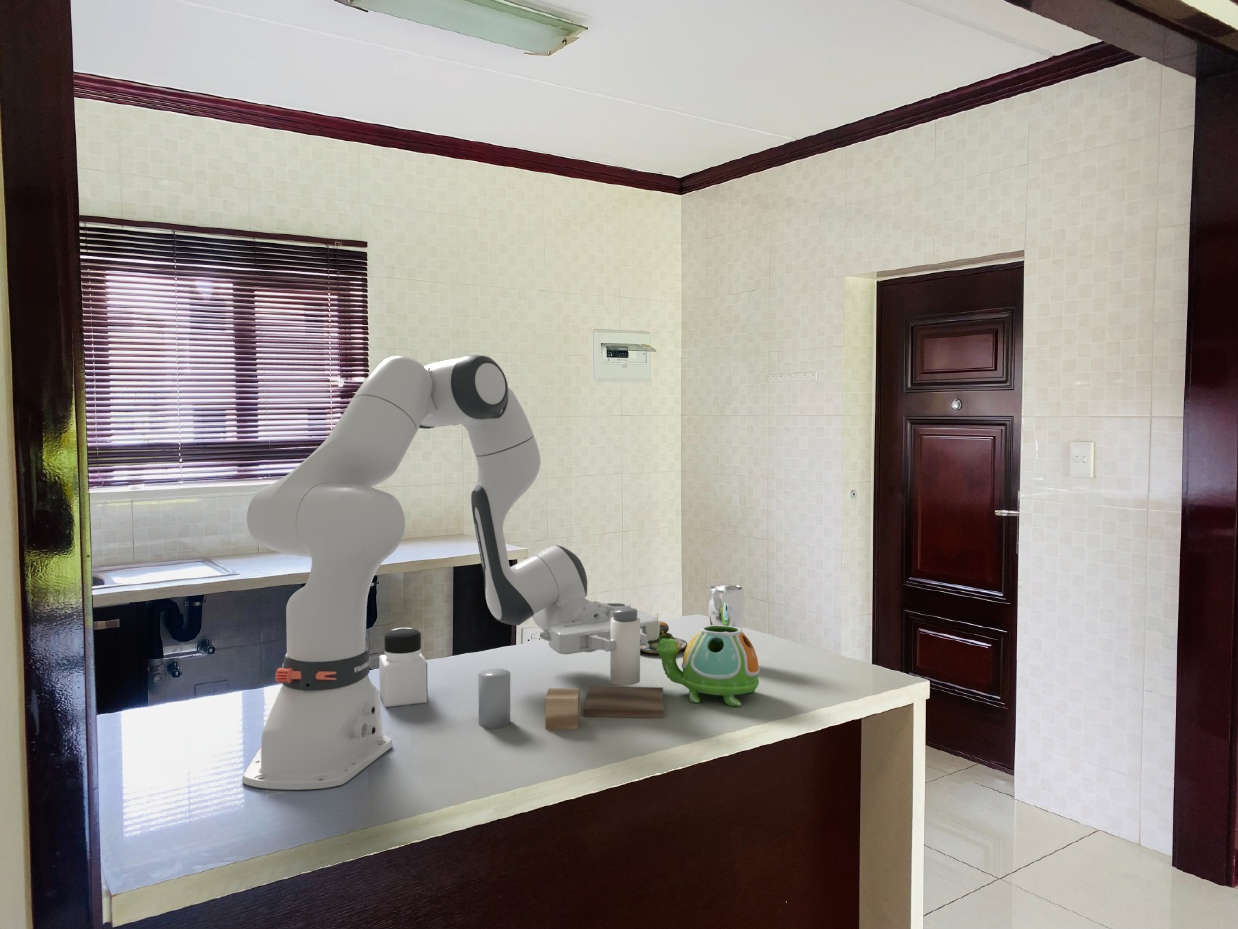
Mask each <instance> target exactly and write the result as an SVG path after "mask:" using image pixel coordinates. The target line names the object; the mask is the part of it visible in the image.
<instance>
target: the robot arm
mask: <svg viewBox="0 0 1238 929" xmlns="http://www.w3.org/2000/svg"><path fill="white" fill-rule="evenodd" d="M458 425H462V426H463V427H464V428H465V430H466V431H467V433H468V436H469V440H470V443H471V448H472V450H473V453H474V455H475V456H474V457H475V458H476V463H477V482H476V486H475V487H474V488H473V489H472V491H471V493H470V496H471V497H470V498H471V499H470V500H471V501H470V503H471V513H472V517H473V525H474V530H475V535H476V536H475V537H476V541H477V545H478V552H479V557H480V561H481V562H480V563H481V568H482V574H483V585H484V586H483V588H484V597H485V600H486V604H487V608H488V610H489V612H490V613H491V615H492V616H493V618H494V619H495V620H496V621H498V622H500V623H504V624H506V625H512V626H520V625H522V624H523V623H525V622H526V621H528V620H529V619H532V620H533V622H534V623H535V624H536V625H537V627H538V628H539V629H540V630H541V631H542V632H540V633H539V637H540V639H542V640H544V641H548V646H549V647H550V649H552V650H553V651H554V652H556V653H557V654H560V655H572V654H578V653H592V652H595V651H605V652H610V651H613V650H615V648H616V647H615V644H616V643H615V640H613V639H611V638H610V619H611V618H612V617H613V610H614V609H617V608H632V606H631V604H628V603H620V602H619V603H616V602H614V603H605V602H600V601H597V600H596V601H595V600H594V601H592V600H589V599H587V596H588V579H587V578H588V576H587V573H586V569H585V567H584V565H583V563H582V560H580V558H579V557H578V556H577V554H575V553H574V552H572V551H571V550H569V549H568V548H566V547H564V546H561V545H558V544H552V546H549V547H547V548H545V549H543V550H541V551H539V552H537V553H534V554H533V555H531V556H530V557H528V558H526V559H524V560H521V561H519V562H518V563H516V564H514V565H512V566H511V565H510V562H509V555H508V550H507V546H506V541H505V535H504V522H505V519H506V516H507V514H508V513H509V511H510V510H511V509H512V507H513V506H514V504H515V503H516V502H517V501H518V500H520V498H521V497H522V496H523V495H524V494H525V493H526V492H527V491H528V490H529V489H530V488H531V486H532V485H533V483H534V482H535V481H536V478H537V477H538V474H539V471H540V468H541V464H542V463H541V454H540V450H539V446H538V444H537V440H536V438H535V435H534V433H533V429H532V427H531V424H530V422H529V420H528V418H527V415H526V412H525V411H524V409H523V406H522V405H521V402H519V400H518V398H517V396H516V395H515V393H514V391H513V390H512V389H511V388H509V385H508V380H507V377H506V375H505V373H504V370H502V368H501V367H500V365H499V364H498V363H497V362H496V361H495V360H494V359H492V358H491V357H490V356H487V355H480V354H470V355H464V356H462V357H457V358H451V359H450V358H449V359H444V360H438V361H434V362H432V363H429V364H426V365H423V364H421V363H420V362H419V361H417V360H415V359H413V358H411V357H407V356H404V355H395V356H394V355H393V356H390V357H387V358H386V359H384V360H382V361H381V362H380V363H379V364H378V365H377V366H376V367H375V369H374V370H372V372H371V373H369V375H368V376H367V377H366V379H365V380H364V381H363V382H362V383H361V385H360V386H359V387H358V389H357V390H356V392H355V393H354V395H353V396H352V399H351V400H350V401H349V403H348V405H347V407H346V409H345V410H344V412H343V413H342V415H341V416H340V418H339V419H338V421H337V423H336V424H335V426H334V427H333V429H332V430H331V432H330V434H328V436H327V437H326V439H325V440H324V441H323V442H322V443H321V444H320V445H319V447H317V448H316V449H315V450H314V451H312V453H311V454H310V455H309V456H308V457H307V458H305V460H303V461H302V462H301V463H300V464H298V465H297V467H295V468H294V469H293V470H292V471H290V472H289V473H288V474H286V475H285V476H283V477H282V478H280V479H278V480H276V481H274V482H273V483H271V484H268V485H266V486H264V487H262V488H260V490H258V491H256V493H255V494H254V496H253V497H252V499H251V500H250V502H249V505H248V508H247V512H246V513H247V514H246V522H247V529H248V532H249V533H250V536H251V537H252V538H253V540H254V541H255V542H257V544H259V545H261V546H263V547H265V548H267V549H270V550H272V551H275V552H277V553H280V554H283V555H286V556H287V555H289V556H297V557H298V556H299V557H306V558H311V566H310V567H311V568H310V572H309V576H308V579H307V581H306V583H305V585H304V586H302V587H301V588H299V589H298V590H296V591H294V593H293V594H292V595H291V596H290V597H289V599H288V601H287V604H286V606H285V607H286V608H285V611H286V613H285V615H286V616H285V617H286V618H285V619H286V622H285V623H286V653H285V654H284V658H283V663H282V666H281V667H279V668H277V669H276V672H275V676H274V678H275V681H276V683H278V684H282V685H281V687H280V688H279V692H278V694H277V696H276V699H275V700H274V703H273V706H272V707H271V710H270V713H269V715H268V717H267V720H266V722H265V725H264V728H263V730H262V733H261V741H260V742H261V743H260V744H261V745H260V747H259V748H258V750H257V751H256V753H255V755H254V756H253V758H252V759H251V761H250V763H249V765H248V766H247V767H246V769H245V770H244V772H243V774H242V781H241V782H242V784H243V785H244V784H245V785H247V786H250V787H255V788H261V789H270V790H288V791H289V790H293V791H294V790H296V791H297V790H317V789H318V790H319V789H327V788H333V787H338V786H341V785H344V784H345V783H347V782H349V781H350V780H351V779H352V778H353V777H355V776H357V775H358V774H359V773H360V772H361V771H363V770H364V769H366V768H367V767H368V766H369V765H370V764H371V763H373V762H375V761H376V760H377V759H379V758H380V757H381V756H382V755H383V754H385V753H386V752H387V751H389V750H390V749H391V748H392V747H393V740H392V738H391V737H389V736H387V735H384V734H383V724H382V710H381V709H382V708H381V696H380V689H378V688H377V687H376V686H375V685H374V683H372V681H371V679H370V678H369V674H370V670H371V669H370V668H371V667H370V664H371V657H370V650H369V648H368V647H367V609H368V608H367V606H368V596H369V593H370V588H371V584H372V583H373V579H374V577H375V575H376V573H377V571H378V569H379V567H380V566H381V565H382V563H383V562H384V561H385V560H386V559H387V558H388V557H390V556H391V555H392V554H393V553H394V552H395V551H396V550H397V549H398V547H399V545H400V543H402V542H401V541H402V540H403V537H404V534H405V526H406V520H405V514H404V510H403V507H402V506H401V503H400V501H399V500H398V498H396V497H395V496H394V495H393V494H391V493H389V492H387V491H384V490H380V489H378V488H375V487H374V486H376V485H378V484H381V483H383V482H385V481H386V480H388V479H390V478H391V477H392V476H393V475H394V474H395V473H396V471H397V469H398V468H399V466H400V464H401V462H402V460H403V458H404V457H405V455H406V453H407V451H408V449H409V447H410V445H411V444H412V442H413V440H414V438H415V436H416V435H417V432H418V431H419V429H426V430H428V429H433V428H435V427H449V426H458ZM637 617H638V618H640V646H644V645H647V644H648V641H652V640H657V639H658V637H659V629H660V628H659V621H660V620H659V618H658V619H657V616H654V615H651V614H649V613H647V612H644V611H642V610H639V609H637Z"/></svg>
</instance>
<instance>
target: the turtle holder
mask: <svg viewBox="0 0 1238 929" xmlns="http://www.w3.org/2000/svg"><path fill="white" fill-rule="evenodd" d="M742 629H743V628H742ZM742 629H741V628H738V627H733V626H724V625H710V624H709V625H708V624H707V625H705V626H702V627H701V628H700V629H699V630H700V631H699V632H698V633H697V634H695V635H694V637H692V638H691V640H690V641H689V642H687V648H686V649H684V654H683V657H682V663H681V668H682V670H681V669H680V667H679V666H678V662H677V658H678V657H677V656H678V655H679V652H680V650H679V648H678V646H677V643H676V641H675V640H673V639H665V638H662V639H661V640H660V642H659V644H658V648H656V651H657V653H656V654H658V656H659V657H660V658H661V665H662V668H663V671H664V675H666V677H667V678H668V679H669V680H670V682H673V683H676V684H679V685H682V686H684V687H685V688H686V689H688V690H689V691H688V698H689V701H690V702H691V703H693V704H694V703H695V704H699V703H701V698H700V697H699V693H702V694H708V695H713V696H714V695H715V696H723V697H722V698H723V700H724V703H725V704H726V705H728V706H731V707H740V706H742V702H741V701H740V700H739V699H738V698H736V696H735V695H744V694H755V693H756V689H758V686H759V683H760V680H759V674H760V671H761V670H760V669H761V668H760V666H759V661H758V660H759V659H758V657H757V656H758V655H757V654H756V650H755V648H754V645H753V644H752V642H751V640H750V639H749V638H748V637H747V635H746V634H745V633H744V632H743V630H742ZM723 632H729V633H723Z"/></svg>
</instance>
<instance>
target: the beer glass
mask: <svg viewBox="0 0 1238 929" xmlns="http://www.w3.org/2000/svg"><path fill="white" fill-rule="evenodd" d="M744 593H745V592H744V587H743V586H741V585H736V584H729V583H726V584H725V583H724V584H721V583H720V584H713V585H710V587H709V594H708V596H709V597H708V621H709V625H724V626H733V627H738V628H741V629H743V624H744V619H745V595H744ZM723 633H729V632H723Z"/></svg>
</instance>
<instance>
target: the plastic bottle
mask: <svg viewBox="0 0 1238 929" xmlns="http://www.w3.org/2000/svg"><path fill="white" fill-rule="evenodd" d="M637 610H638V609H637V608H633V607H631V608H617V609H614V610H613V617H612V618H611V619H610V638H611V639H613V640H615V643H616V644H615V647H616V648H615V650H613V651H609V652H610V654H609V655H610V658H609V659H610V661H609V662H610V674H609V676H610V680H609V681H610V682H611V683H612V684H615V685H617V686H618V685H619V686H632V685H633V686H634V685H637V684H638V683H640V682H641V651H640V618H638V617H637Z"/></svg>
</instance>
